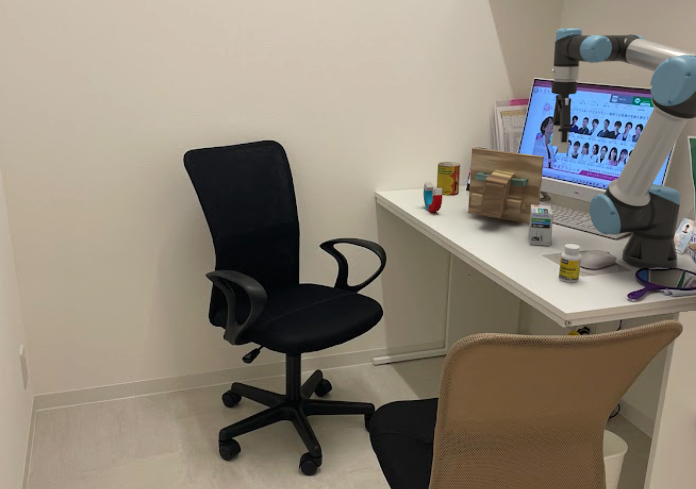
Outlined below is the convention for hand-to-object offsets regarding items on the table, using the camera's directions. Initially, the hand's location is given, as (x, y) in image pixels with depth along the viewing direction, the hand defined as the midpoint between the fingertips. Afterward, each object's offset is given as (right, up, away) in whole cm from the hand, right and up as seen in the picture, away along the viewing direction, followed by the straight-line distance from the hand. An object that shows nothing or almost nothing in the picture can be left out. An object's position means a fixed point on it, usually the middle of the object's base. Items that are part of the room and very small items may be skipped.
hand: (559, 149), depth 222 cm
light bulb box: (-5, -29, +6) cm, 30 cm away
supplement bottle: (-6, -40, -27) cm, 49 cm away
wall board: (-12, -21, +29) cm, 38 cm away
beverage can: (-26, -9, +65) cm, 70 cm away
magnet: (-36, -18, +39) cm, 56 cm away
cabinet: (-16, -18, +20) cm, 32 cm away
